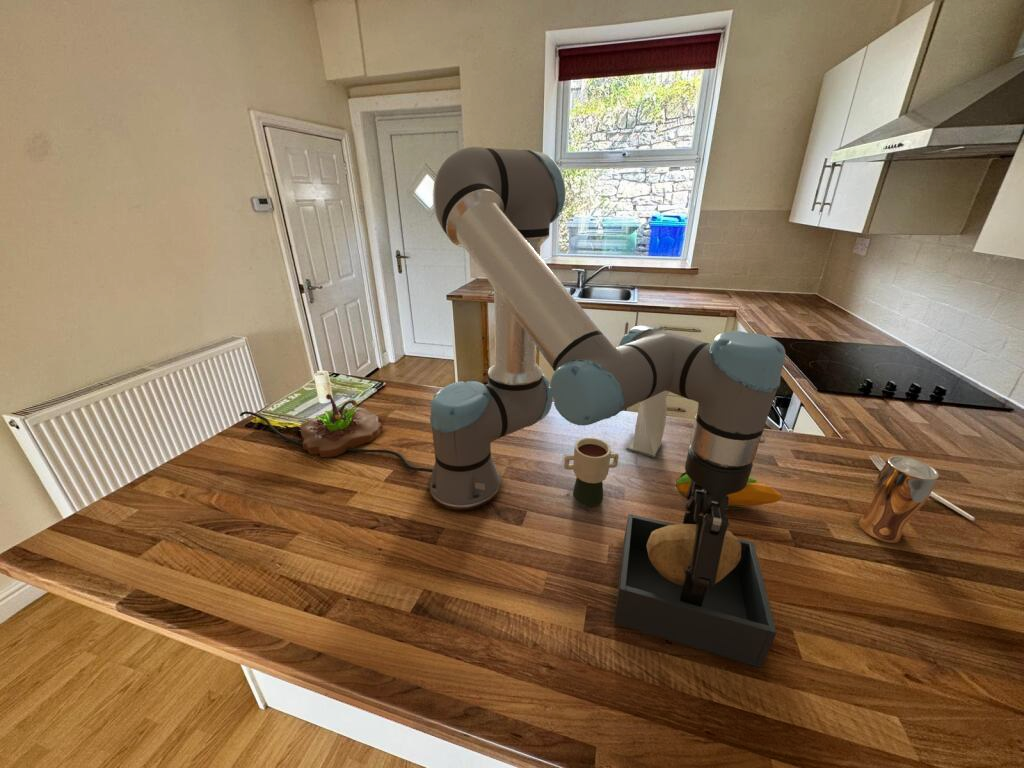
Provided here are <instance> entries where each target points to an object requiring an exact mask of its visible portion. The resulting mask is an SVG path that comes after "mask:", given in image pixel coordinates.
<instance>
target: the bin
mask: <svg viewBox="0 0 1024 768" xmlns="http://www.w3.org/2000/svg"><path fill="white" fill-rule="evenodd" d="M676 524H677V523H673V522H667V521H664V520H663V521H662V520H658V519H654V518H650V517H645V516H640V515H636V514H632V513H627V519H626V525H625V531H624V537H623V544H622V550H621V551H622V552H621V561H620V570H619V577H618V585H617V594H616V603H615V610H614V619H613V623H614V624H616V625H618V626H619V625H620V626H623V627H626V628H630V629H632V630H635V631H638V632H643V633H645V634H649V635H652V636H655V637H658V638H662V639H665V640H668V641H671V642H674V643H677V644H681V645H685V646H688V647H691V648H693V649H698V650H701V651H704V652H707V653H711V654H713V655H717V656H720V657H723V658H726V659H730V660H733V661H736V662H740V663H743V664H746V665H750V666H751V667H752V666H753V667H756V668H759V669H762V667H763V665H764V662H765V660H766V658H767V655H768V653H769V651H770V649H771V647H772V645H773V643H774V640H775V638H776V636H777V628H776V625H775V621H774V616H773V612H772V609H771V605H770V601H769V598H768V594H767V593H768V592H767V589H766V586H765V581H764V577H763V572H762V568H761V566H760V561H759V558H758V553H757V550H756V545H755V542H754V541H751V540H746V539H743V538H737V537H735V538H736V539H737V540H738V541H739V542H740V543H741V559H740V561H739V562H738V564H737V565H736V567H735V568H734V569H733V570H732V571H730V572H729V573H728V574H727V575H726V576H725V577H724V578H723V579H722V580H720V581H719V582H718V583H716V584H715V586H714V589H713V588H709V587H707V590H706V593H705V596H704V599H703V603H702V606H701V607H699V606H696V605H692V604H689V603H685V602H682V601H680V596H681V593H682V589H683V586H681V585H678V584H675V583H672V582H670V581H669V580H667V579H666V578H664V577H663V576H661V575H660V574H659V572H658V571H657V570H656V569H655V567H654V566H653V565H652V563H651V561H650V559H649V556H648V551H647V546H646V545H647V542H648V539H649V537H650V535H651V533H652V532H653V531H654V530H656V529H659V528H662V527H665V526H668V525H676Z"/></svg>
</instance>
